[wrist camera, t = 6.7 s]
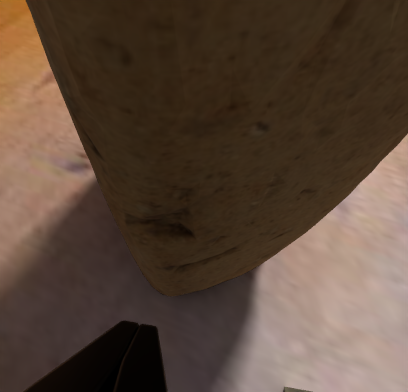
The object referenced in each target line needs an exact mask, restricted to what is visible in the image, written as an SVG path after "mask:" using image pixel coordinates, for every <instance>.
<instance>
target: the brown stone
mask: <svg viewBox="0 0 408 392" xmlns="http://www.w3.org/2000/svg"><path fill="white" fill-rule="evenodd" d="M26 2H27V5H28V7H29V9H30V12H31V14H32V17H33V20H34V23H35V26H36V28H37V31H38V34H39V37H40V39H41V42H42V45H43V48H44V50H45V53H46V56H47V59H48V62H49V64H50V67H51V69H52V71H53V74H54V76H55V79H56V81H57V84H58V86H59V89H60V91H61V93H62V96H63V98H64V101H65V103H66V106H67V108H68V111H69V113H70V115H71V118H72V120H73V123H74V125H75V128H76V130H77V133H78V135H79V138H80V140H81V142H82V145H83V147H84V150H85V152H86V154H87V156H88V158H89V160H90V163H91V165H92V168H93V170H94V173H95V175H96V178H97V180H98V183H99V185H100V188H101V190H102V192H103V195H104V197H105V199H106V201H107V204H108V206H109V208H110V210H111V212H112V214H113V217H114V219H115V221H116V223H117V225H118V227H119V229H120V231H121V233H122V235H123V237H124V239H125V241H126V243H127V246H128V248H129V250H130V252H131V254H132V256H133V257H134V259H135V261H136V263H137V264H138V266H139V268H140V270H141V271H142V273H143V275H144V276H145V277H146V279H147V280H148V281H149V283H150V284H151V285H152V287H153V288H155V289H156V290H157V291H159V292H160V293H161V294H164V295H167V296H170V297H171V296H178V295H183V294H187V293H191V292H196V291H200V290H204V289H207V288H209V287H212V286H215V285H217V284H219V283H222V282H225V281H228V280H230V279H233V278H235V277H238V276H240V275H242V274H244V273H246V272H248V271H250V270H252V269H254V268H255V267H257V266H259V265H260V264H262V263H264V262H265V261H267V260H268V259H270V258H271V257H273V256H274V255H275V254H277V253H278V252H279V251H281V250H282V249H283V248H285V247H286V246H288V245H289V244H291V243H292V242H293V241H295V240H296V239H298V238H299V237H300V236H302V235H303V234H305V233H306V232H307V231H308V230H309V229H311V228H312V227H313V226H314V225H316V224H317V223H318V222H319V221H320V220H321V219H322V218H323V217H325V216H326V215H327V214H328V213H329V212H330V211H331V210H333V209H334V208H335V207H336V206H337V205H338V204H339V203H340V202H342V201H343V200H344V199H345V198H346V197H347V196H348V195H349V194H350V193H351V192H352V191H353V190H354V189H355V188H356V187H357V186H358V184H359V183H360V182H361V181H363V180H364V179H365V178H366V177H367V176H368V175H369V174H370V173H371V172H372V171H373V170H374V169H375V167H376V166H377V165H378V164H379V163H380V161H381V160H383V159H384V158H385V157H386V156H387V155H388V154H389V153H390V152H391V151H392V150H393V149H394V148H395V147H396V146H397V145H398V144H399V143H400V142H401V140H402V139H403V138H404V137H405V136H406V135H407V134H408V0H26Z"/></svg>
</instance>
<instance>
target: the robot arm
mask: <svg viewBox="0 0 408 392" xmlns="http://www.w3.org/2000/svg"><path fill="white" fill-rule="evenodd" d="M23 392H168V389H167V383H166V377H165V371H164V365H163V359H162V353H161V347H160V341H159V335H158V329H157V327H156V326H152V325H146V324H141V325H140V326H139V324H138V323H136V322H130V321H121V322H119V323H118V324H117V325H115V326H114V327H112V328H111V329H110V330H108V331H107V332H105V333H104V334H103V335H101V336H100V337H98V338H97V339H96V340H94V341H93V342H92V343H90V344H89V345H87V346H86V347H85V348H83V349H82V350H80V351H79V352H78V353H76V354H75V355H73V356H72V357H71V358H69V359H68V360H66V361H65V362H64V363H62V364H61V365H60V366H58V367H57V368H55V369H54V370H53V371H51V372H50V373H48V374H47V375H46V376H44V377H43V378H41V379H40V380H39V381H37V382H36V383H34V384H33V385H32V386H30V387H29V388H28V389H26V390H25V391H23Z"/></svg>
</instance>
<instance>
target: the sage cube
mask: <svg viewBox="0 0 408 392" xmlns="http://www.w3.org/2000/svg"><path fill="white" fill-rule="evenodd" d="M284 392H311V391H306V390H300V389H295V388H289V387H285V391H284Z"/></svg>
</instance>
